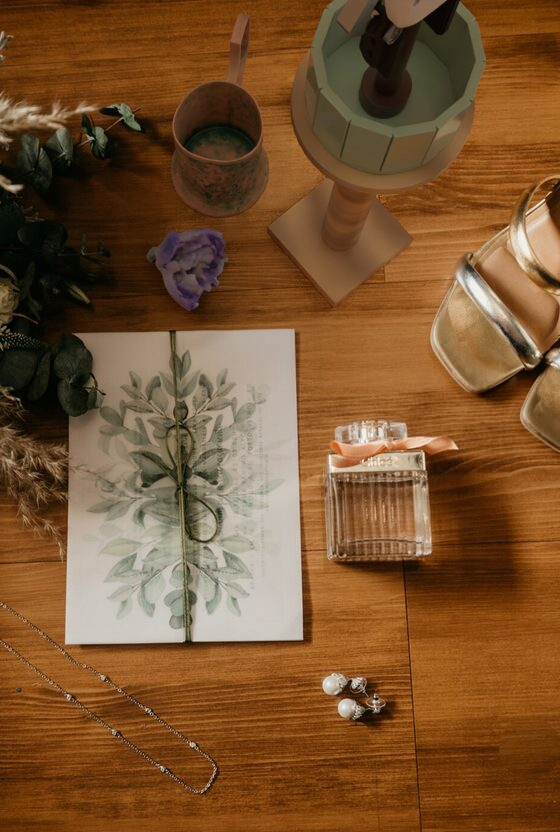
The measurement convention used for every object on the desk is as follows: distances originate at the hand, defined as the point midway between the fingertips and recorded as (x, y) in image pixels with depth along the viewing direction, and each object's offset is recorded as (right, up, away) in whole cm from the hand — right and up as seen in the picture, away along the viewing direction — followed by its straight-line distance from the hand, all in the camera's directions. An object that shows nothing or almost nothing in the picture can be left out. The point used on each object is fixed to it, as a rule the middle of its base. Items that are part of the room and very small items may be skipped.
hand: (403, 39), depth 51 cm
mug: (-13, +8, +34) cm, 38 cm away
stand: (0, -3, +33) cm, 33 cm away
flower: (-18, -8, +33) cm, 38 cm away
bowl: (0, -1, +7) cm, 7 cm away
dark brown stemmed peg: (0, -1, +7) cm, 7 cm away
